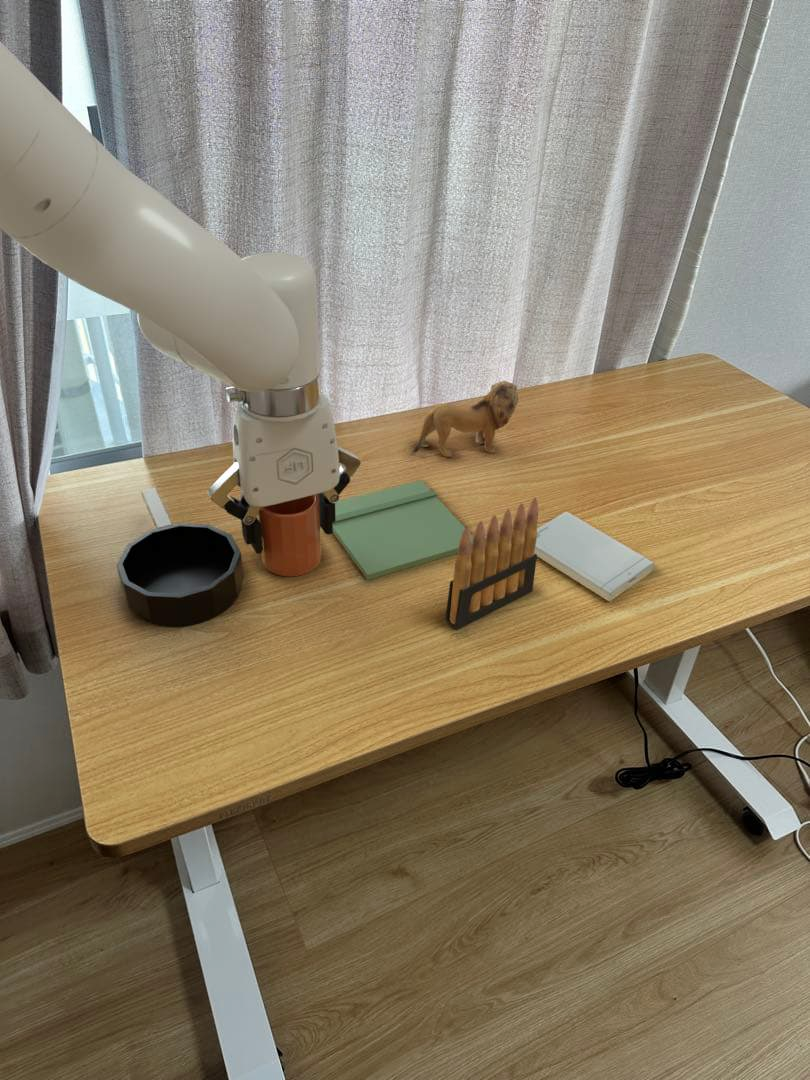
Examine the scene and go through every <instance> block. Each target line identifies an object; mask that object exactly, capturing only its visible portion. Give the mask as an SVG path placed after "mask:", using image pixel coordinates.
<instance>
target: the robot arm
mask: <svg viewBox="0 0 810 1080" xmlns="http://www.w3.org/2000/svg"><path fill="white" fill-rule="evenodd" d="M0 230H1V231H2V232H3V233H5V235H7V236H9V237H10V238H11V239H12V240H14V241H15V242H16V243H18V244H19V245H20V246H22V247H23V248H24V249H25V250H27V252H29V253H30V254H31V255H33V256H34V257H35V258H37V259H38V260H39V261H41V262H42V263H44V264H45V265H47V266H49V267H50V268H52V269H53V270H55V271H57V272H58V273H60V274H62V275H63V276H65V277H66V278H68V279H69V280H71V281H73V282H74V283H76V284H78V285H80V286H82V287H84V288H86V289H87V290H90V291H91V292H92V293H93V292H94V293H96V294H98V295H100V296H102V297H104V298H106V299H109V300H111V301H112V302H115V303H117V304H119V305H121V306H123V307H125V308H127V309H129V310H131V311H132V312H135V313H136V314H137V322H138V323H137V324H138V326H139V329H140V331H141V333H142V335H143V337H144V338H145V339H146V341H147V342H148V343H149V344H150V345H151V346H152V347H153V348H154V349H155V350H157V351H159V352H160V353H161V354H163V355H165V357H168V358H170V359H173V360H174V361H177V362H179V363H181V364H183V365H185V366H187V367H189V368H192V369H194V370H197V371H199V372H202V373H203V374H206V375H207V376H210V377H212V378H214V379H216V380H218V381H220V382H222V383H224V384H226V385H228V386H230V387H226V388H225V396H226V397H225V398H226V400H227V402H228V403H234V402H236V405H235V410H234V418H233V429H232V462H233V464H232V465H231V466H230V467H228V469H227V470H226V471H225V472H224V473H223V474H222V475H221V476H220V477H219V478H217V480H215V482H214V483H213V484H212V485H211V486H210V487H209V488H208V489H207V495H208V497H209V499H210V500H211V502H213V503H214V504H216V505H217V506H219V507H220V508H221V509H223V510H225V511H226V513H227V514H228V515H231V516H233V517H234V518H236V519H239V520H240V523H241V532H242V538H243V541H244V543H245V545H247V546H248V545H251V547H252V548H253V551H254V553H255V554H256V555H258V554H261V553H262V551H263V545H262V534H261V525H260V522H259V520H258V513H259V511H260V509H261V507H266V506H271V505H275V504H279V503H284V502H288V501H292V500H296V499H300V498H304V497H308V496H312V495H315V494H319V505H320V529H321V530H322V532H323V533H324V534H325V535H328V536H329V535H333V534H334V533H333V525H332V522H335V520H336V518H335V503H336V502H337V501H340V495H341V494H342V492H343V491H344V490H345V489H346V487H348V485H349V484H350V482H351V478H352V477H353V476H354V474H355V473H356V472H357V470H358V469H359V468H360V466H361V463H362V461H361V460H360V458H359V457H358V456H357V455H356V454H354V453H353V452H351V451H349V450H346V449H344V448H342V447H341V446H338V441H337V431H336V427H335V421H334V416H333V411H332V407H331V403H330V400H329V398H328V397H327V396H326V395H325V394H324V393H322V392H321V379H320V378H321V376H320V350H319V349H320V348H319V345H320V344H319V317H318V316H319V315H318V288H317V287H318V285H317V276H316V273H315V270H314V267H313V266H312V265H311V264H310V263H309V262H308V261H307V260H306V259H304V258H303V257H301V256H298V255H296V254H290V253H287V252H286V253H285V252H275V251H274V252H261V253H255V254H251V255H247V256H245V257H243V258H242V257H240V255H238V254H237V253H236V252H234V250H232V248H230V247H229V246H227V244H225V243H223V242H222V241H221V240H220V239H219V238H218V237H216V236H215V235H214V234H212V233H211V232H210V231H209V230H207V229H206V228H204V227H203V226H202V225H200V224H199V223H198V222H196V221H195V220H194V219H192V218H191V217H190V216H189V215H187V214H186V213H185V212H183V211H182V210H181V209H180V208H178V207H177V206H176V205H175V204H173V203H172V202H171V201H170V200H168V198H166V197H165V196H164V195H162V194H161V193H160V192H159V191H157V190H156V188H153V187H152V186H151V185H150V184H148V183H147V182H145V181H144V180H142V179H141V178H140V177H138V176H137V175H135V174H134V173H133V172H132V171H131V170H129V168H128V167H126V166H125V165H124V164H123V163H122V162H120V161H119V159H117V158H116V157H115V156H114V155H113V154H112V153H111V152H110V151H109V150H108V149H107V148H106V147H105V146H104V145H103V143H101V142H100V141H99V140H98V139H97V138H96V137H95V136H94V135H93V134H92V133H91V132H90V131H89V129H88V128H86V127H85V126H84V125H83V124H82V122H81V121H80V120H78V118H77V117H75V115H73V113H71V111H69V110H68V108H66V106H65V105H64V104H63V103H62V102H60V100H59V99H58V98H57V97H56V96H55V95H54V94H53V93H52V92H51V91H50V90H49V89H48V87H46V86H45V84H43V83H42V82H41V81H40V80H39V79H38V78H37V77H36V75H34V74H33V72H32V71H30V70H29V68H28V67H26V66H25V64H23V62H22V61H20V59H19V58H18V57H17V56H16V55H15V54H14V53H13V52H11V50H10V49H9V48H8V47H7V46H6V45H5V44H4V43H3V42H2V41H1V40H0ZM237 486H238V487H239V488H241V493H240V495H239V497H238V499H237V498H235V497H233V496H232V495H229V493H230V492H231V491H232V490H233V489H234V488H235V487H237Z"/></svg>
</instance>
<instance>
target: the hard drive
mask: <svg viewBox="0 0 810 1080" xmlns="http://www.w3.org/2000/svg"><path fill="white" fill-rule="evenodd" d="M534 554H536V555H537V558H539V559H540V560H542V561H544V562H545V563H547V564H548V565H550V566H552V567H553V568H555V569H556V570H558V571H559V572H561V573H563V574H565V575H566V576H568V577H569V578H571V579H572V580H574V581H575V582H577V583H578V584H581V585H582V586H583V587H585V588H587V589H588V590H589V591H591V592H593V593H595V594H596V595H597V596H599V597H601V598H602V599H604V600H606V601H607V602H611V601H613V600H614V599H615V598H617V597H618V596H620V595H621V594H623V593H624V592H626V591H627V590H628V589H630V588H631V587H633V586H635V584H638V582H640V581H641V580H642V579H644V578H646V577H647V576H649V575H650V574H651V573H652V572H653V571H654V567H655V564H656V563H655V562H654V561H652V560H651V559H649V558H647V557H646V556H644V555H643V554H641V553H639V552H637V551H635V550H634V549H632V548H630V547H629V546H628V545H626V544H624V543H622V542H620V541H619V540H617V539H615V538H613V537H612V536H610V535H609V534H607V533H605V532H603V531H601V530H599V529H598V528H596V527H594V526H592V525H591V524H589V523H588V522H586V521H585V520H582V519H581V518H579V517H577V516H576V515H574V514H572V513H571V512H568V511H565V512H563V513H561V514H559V515H558V516H556V517H554V518H552V519H551V520H549V521H548V522H545V523H544V524H542V525H541V526H539V527H537V540H536V546H535V552H534Z"/></svg>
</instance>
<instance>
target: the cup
mask: <svg viewBox="0 0 810 1080" xmlns="http://www.w3.org/2000/svg"><path fill="white" fill-rule="evenodd" d="M257 519H258V520H259V522H260V525H261V534H262V545H263V551H262V553H260V554H261V560H262V564H263V566H264V567H265V568H266V570H268V571H269V572H270V573H272V574H274V575H278V576H282V577H297V576H298V577H299V576H302V575H306V574H308V573H310V572H312V571H314V570H315V569H316V568H317V567H318V566H319V564H320V563H321V560H322V539H321V538H322V535H321V527H320V505H319V494H315V495H312V496H308V497H304V498H300V499H296V500H292V501H288V502H284V503H279V504H275V505H271V506H266V507H261V509H260V511H259V513H258V515H257Z"/></svg>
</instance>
